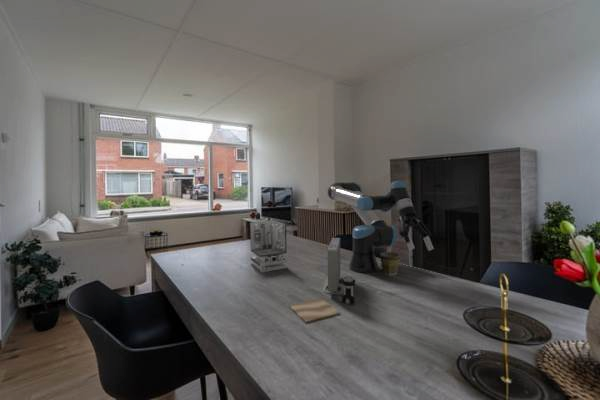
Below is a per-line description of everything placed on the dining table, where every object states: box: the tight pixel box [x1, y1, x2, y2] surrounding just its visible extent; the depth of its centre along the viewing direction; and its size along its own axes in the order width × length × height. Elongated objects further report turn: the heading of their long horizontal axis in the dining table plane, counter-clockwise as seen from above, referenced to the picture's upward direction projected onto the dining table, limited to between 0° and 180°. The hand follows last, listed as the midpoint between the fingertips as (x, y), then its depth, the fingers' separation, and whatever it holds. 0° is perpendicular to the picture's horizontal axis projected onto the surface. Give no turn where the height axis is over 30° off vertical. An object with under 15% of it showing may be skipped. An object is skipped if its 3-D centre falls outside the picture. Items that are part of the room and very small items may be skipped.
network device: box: [322, 237, 344, 295], centre depth 127 cm, size 26×9×20 cm, turn 168°
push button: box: [338, 275, 356, 306], centre depth 110 cm, size 7×5×10 cm
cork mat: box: [288, 297, 341, 324], centre depth 103 cm, size 14×14×1 cm
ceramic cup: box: [379, 251, 401, 277], centre depth 144 cm, size 13×10×10 cm
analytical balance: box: [249, 220, 288, 273], centre depth 156 cm, size 16×19×25 cm
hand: (421, 249), depth 128 cm, fingers open, 13 cm apart
